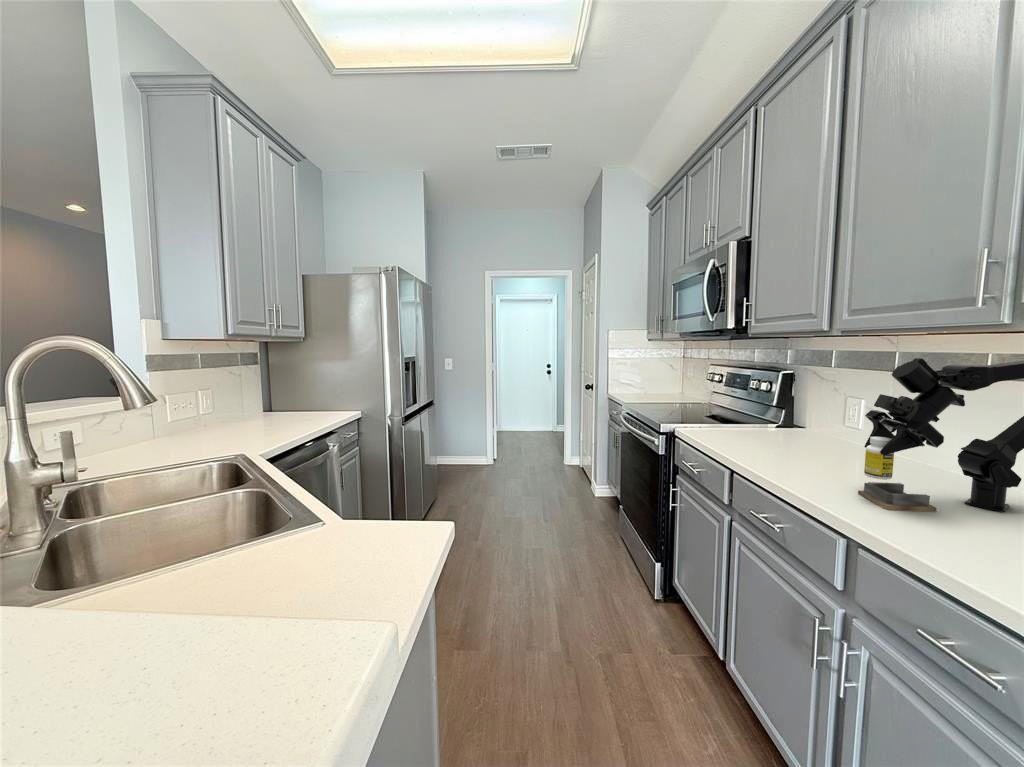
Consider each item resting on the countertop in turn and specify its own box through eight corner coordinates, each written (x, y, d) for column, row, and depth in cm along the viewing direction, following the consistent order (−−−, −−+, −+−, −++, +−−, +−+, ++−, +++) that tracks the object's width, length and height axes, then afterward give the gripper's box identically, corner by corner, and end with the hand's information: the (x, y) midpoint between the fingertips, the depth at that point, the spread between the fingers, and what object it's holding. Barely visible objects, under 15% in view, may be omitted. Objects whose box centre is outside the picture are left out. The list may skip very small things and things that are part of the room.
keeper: (902, 495, 113) (904, 482, 113) (936, 511, 103) (937, 497, 102) (858, 494, 115) (858, 481, 114) (886, 509, 104) (887, 495, 104)
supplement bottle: (884, 481, 105) (886, 441, 104) (859, 475, 110) (861, 437, 109) (897, 478, 107) (900, 439, 106) (872, 472, 112) (874, 434, 111)
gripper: (875, 379, 115) (827, 421, 118) (932, 387, 96) (874, 436, 99) (906, 408, 114) (858, 449, 117) (970, 422, 96) (911, 470, 99)
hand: (873, 450), depth 108 cm, fingers closed on supplement bottle, 5 cm apart
